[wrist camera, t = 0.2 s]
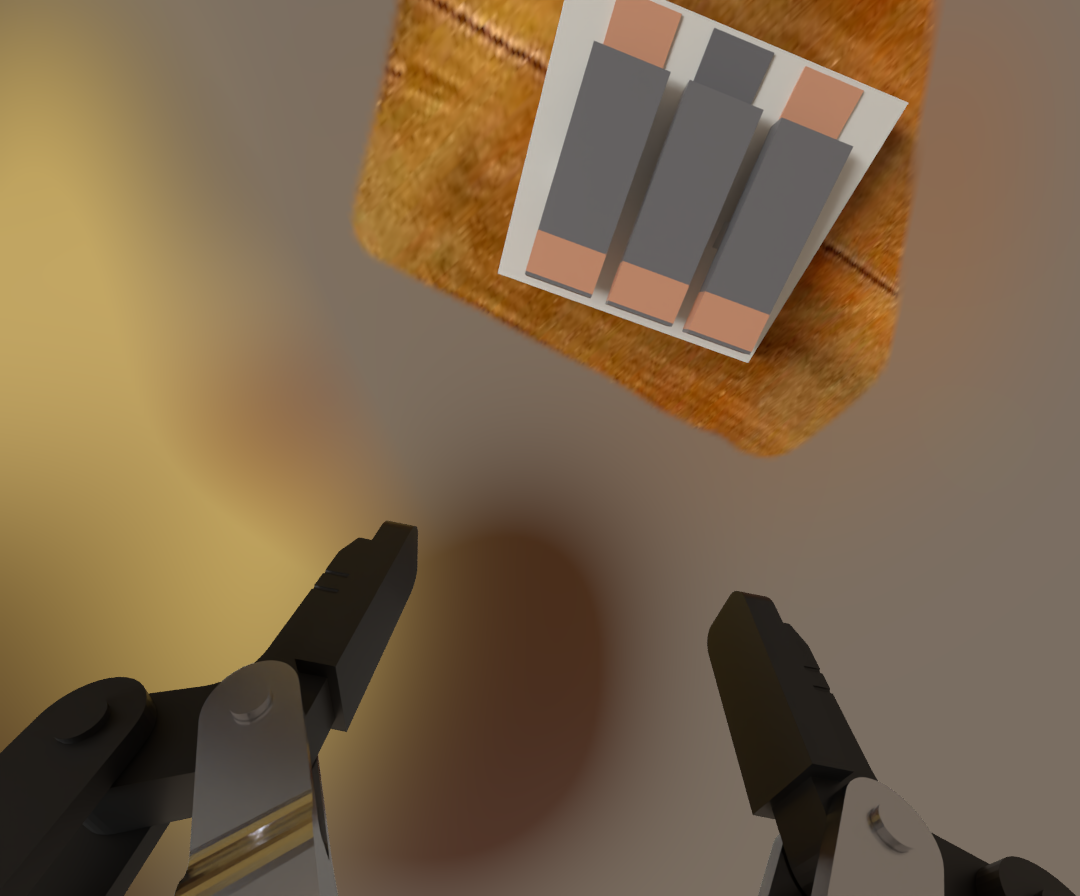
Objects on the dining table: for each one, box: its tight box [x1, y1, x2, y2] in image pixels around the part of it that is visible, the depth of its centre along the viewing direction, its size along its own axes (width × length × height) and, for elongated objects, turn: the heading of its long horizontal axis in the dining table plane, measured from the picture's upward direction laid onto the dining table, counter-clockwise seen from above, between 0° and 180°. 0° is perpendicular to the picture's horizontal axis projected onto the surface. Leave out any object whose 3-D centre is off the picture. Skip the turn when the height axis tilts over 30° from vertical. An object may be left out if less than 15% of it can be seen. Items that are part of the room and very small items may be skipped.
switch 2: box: [605, 80, 764, 327], centre depth 24 cm, size 12×4×1 cm, turn 162°
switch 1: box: [525, 41, 671, 298], centre depth 24 cm, size 12×4×1 cm, turn 162°
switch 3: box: [682, 118, 853, 355], centre depth 25 cm, size 12×4×1 cm, turn 162°
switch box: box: [498, 0, 908, 363], centre depth 27 cm, size 16×20×5 cm
